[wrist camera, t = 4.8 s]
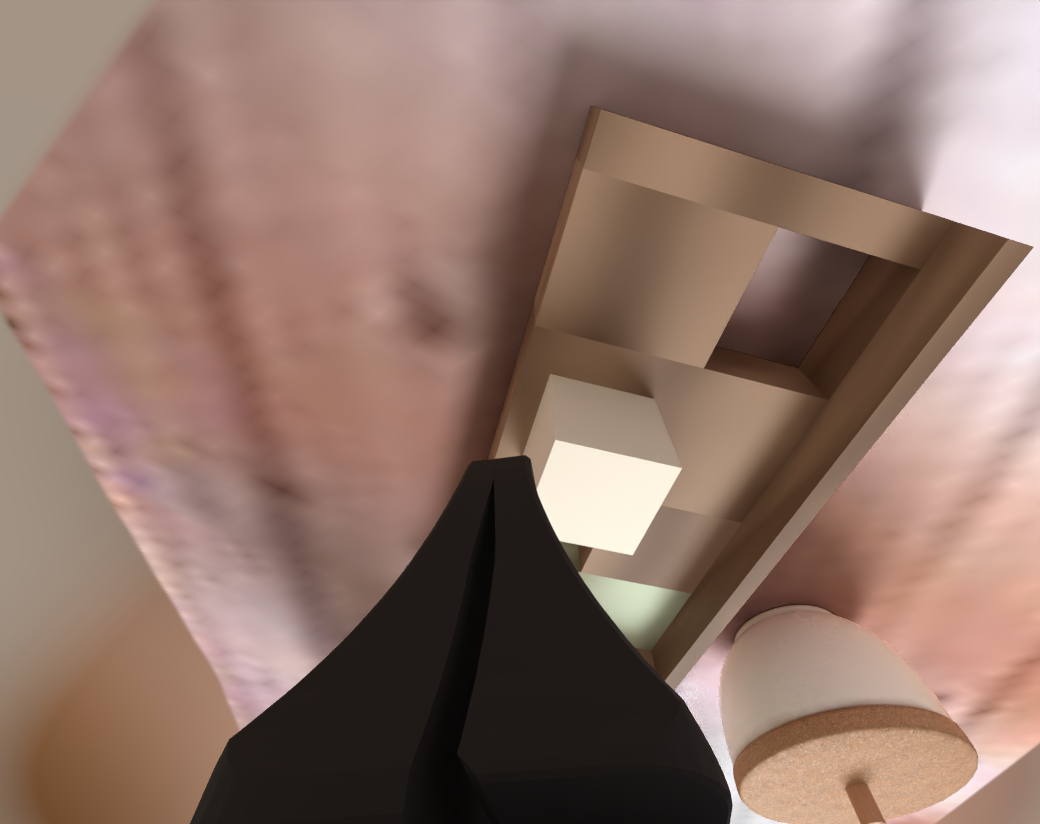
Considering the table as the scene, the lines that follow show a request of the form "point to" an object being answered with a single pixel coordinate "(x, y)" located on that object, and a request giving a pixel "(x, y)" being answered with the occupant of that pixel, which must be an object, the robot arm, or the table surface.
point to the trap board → (731, 357)
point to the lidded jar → (834, 723)
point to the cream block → (600, 463)
